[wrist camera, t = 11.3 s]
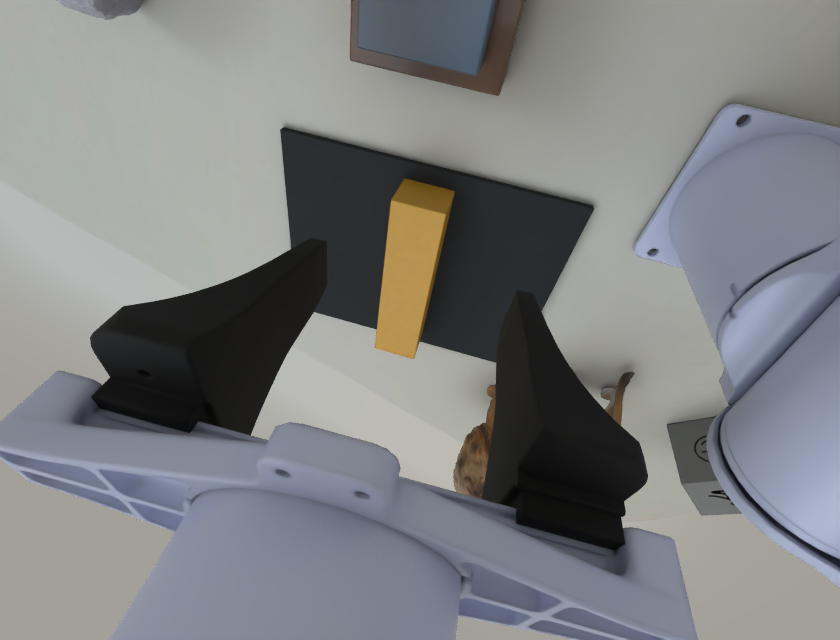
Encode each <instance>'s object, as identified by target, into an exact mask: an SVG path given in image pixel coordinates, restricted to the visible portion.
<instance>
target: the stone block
mask: <svg viewBox="0 0 840 640" xmlns="http://www.w3.org/2000/svg"><path fill="white" fill-rule="evenodd" d="M57 1H58V2H59V3H61V4H62V5H63V6H65V7H68V8H70V9H73V10H76V11H79V12H81V13H85V14H88V15H91V16H94V17H97V18H103V19H113V18H115V17H117V16H121V15H130V14H132V13H135V12H136V11H137V10H138V9H139V8H140V6H141V4H142V2H143V0H57Z"/></svg>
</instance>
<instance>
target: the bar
mask: <svg viewBox="0 0 840 640" xmlns="http://www.w3.org/2000/svg"><path fill="white" fill-rule="evenodd" d="M454 193H455V191H453V190H449V189H445V188H441V187H437V186H433V185H429V184H425V183H422V182H418V181H414V180H410V179H406V178H404V180H403V182H402V183H401V185H400V187H399V188H398V190H397V192H396V193H395V195H394V196H393V198H392V200H391V206H390V215H389V224H388V233H387V242H386V251H385V260H384V269H383V278H382V287H381V296H380V306H379V315H378V324H377V333H376V342H375V348H376V349H380V350H383V351H387V352H390V353H394V354H398V355H401V356H405V357H408V358H412V359H414V358H415V354H416V351H417V348H418V345H419V342H420V339H421V336H422V332H423V328H424V324H425V319H426V315H427V311H428V306H429V302H430V298H431V293H432V289H433V285H434V280H435V276H436V272H437V267H438V263H439V259H440V254H441V250H442V246H443V241H444V237H445V233H446V228H447V224H448V220H449V215H450V211H451V206H452V202H453V198H454Z"/></svg>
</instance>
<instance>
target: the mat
mask: <svg viewBox="0 0 840 640" xmlns="http://www.w3.org/2000/svg"><path fill="white" fill-rule="evenodd" d="M280 131H281V142H282V153H283V163H284V174H285V185H286V196H287V207H288V218H289V228H290V239H291V249H292V248H294V247H295V246H297V245H299V244H301V243H302V242H304V241H306V240H307V239H309V238H315V239H319V240H323V241H327V286H326V288H325V291H324V293H323V295H322V297H321V299H320V302H319V304H318V306H317V307H316V309H315V311H314V312H317V313H320V314H324V315H327V316H331V317H334V318H338V319H342V320H345V321H349V322H352V323H356V324H360V325H363V326H367V327H370V328H374V329H377V324H378V315H379V306H380V296H381V287H382V278H383V269H384V260H385V251H386V242H387V233H388V224H389V215H390V206H391V200H392V198H393V196H394V195H395V193H396V192H397V190H398V188H399V187H400V185H401V183H402V182H403V180H404V178H406V179H410V180H414V181H418V182H422V183H425V184H429V185H433V186H437V187H441V188H445V189H449V190H453V191H455V193H454V198H453V202H452V206H451V211H450V215H449V220H448V224H447V228H446V233H445V237H444V241H443V246H442V250H441V254H440V259H439V263H438V267H437V272H436V276H435V280H434V285H433V289H432V293H431V298H430V302H429V306H428V311H427V315H426V319H425V324H424V328H423V332H422V336H421V339H420V342H424V343H428V344H431V345H435V346H438V347H442V348H446V349H449V350H453V351H456V352H460V353H463V354H467V355H471V356H474V357H478V358H481V359H485V360H489V361H492V362H496V363H497V348H498V341H499V335H500V329H501V326H502V324H503V321H504V319H505V317H506V314H507V312H508V310H509V307H510V305H511V303H512V301H513V298H514V296H515V294H516V291H517V290H521V291H525V292H529V293H533V294H534V295H535V297H536V300H537V302H538V305H539V307H540V310H541V311H542V309H543V307H544V305H545V303H546V301H547V299H548V297H549V295H550V293H551V292H552V290H553V288H554V286H555V284H556V282H557V280H558V278H559V276H560V274H561V272H562V270H563V268H564V266H565V264H566V262H567V260H568V258H569V256H570V255H571V253H572V251H573V249H574V247H575V245H576V243H577V241H578V239H579V237H580V235H581V233H582V231H583V229H584V227H585V225H586V223H587V221H588V219H589V218H590V216H591V214H592V212H593V210H594V207H593V206H592V205H588V204H584V203H581V202H577V201H573V200H569V199H565V198H561V197H557V196H553V195H549V194H545V193H541V192H537V191H533V190H529V189H525V188H521V187H517V186H513V185H509V184H505V183H501V182H497V181H493V180H490V179H486V178H482V177H478V176H474V175H470V174H466V173H462V172H458V171H454V170H450V169H446V168H442V167H438V166H434V165H430V164H426V163H422V162H418V161H414V160H410V159H406V158H402V157H398V156H395V155H391V154H387V153H383V152H379V151H375V150H371V149H367V148H363V147H359V146H355V145H351V144H347V143H343V142H339V141H335V140H331V139H327V138H323V137H319V136H315V135H311V134H307V133H304V132H300V131H296V130H292V129H288V128H282V129H281V130H280Z"/></svg>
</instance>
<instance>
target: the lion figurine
mask: <svg viewBox="0 0 840 640" xmlns="http://www.w3.org/2000/svg"><path fill="white" fill-rule="evenodd" d="M633 375H634V372H628V373H624V374H623V375H622V376H621V378H620V380H619V382H618V385H617V389H615V388H604V389H602V391H601V397H602V398H604V399H606V400H610V403H609V405H608V406H607V407H606V409H604V410H605V411H606V412H607V413H608V414H609V415H610V416H611V417H612V418H613V419H614V420H615V421H616V422H617V423H618V424H619V425H620V426H621V418H622V401H623V395H624V391H625V388H626V386H627V385H628V383H629V382H630V379H631V378H632V377H633ZM487 394H488V395H489V396H490V397H493V398H492V400H491V403H490V406H489V409H488V412H487V419H486V423H482V424H481V425H480V426H477V427H474V428H473V430H472V432H471V433H469V434H468V435H467V436H466V438H465V441H464V444H463V446H462V448H461V450H460V453H459V455H458V459H457V462H456V466H455V469H454V476H453V478H454V486H455V489H456V492H458V493H461V494H465V495H468V496H472V497H476V498H479V499H481V498H482V492H483V487H484V481H485V475H486V469H487V463H488V457H489V450H490V444H491V437H492V430H493V422H494V415H495V403H496V387H495V386H489V387H488V388H487Z"/></svg>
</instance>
